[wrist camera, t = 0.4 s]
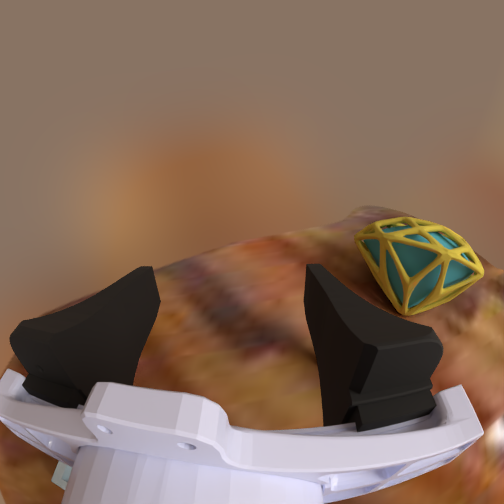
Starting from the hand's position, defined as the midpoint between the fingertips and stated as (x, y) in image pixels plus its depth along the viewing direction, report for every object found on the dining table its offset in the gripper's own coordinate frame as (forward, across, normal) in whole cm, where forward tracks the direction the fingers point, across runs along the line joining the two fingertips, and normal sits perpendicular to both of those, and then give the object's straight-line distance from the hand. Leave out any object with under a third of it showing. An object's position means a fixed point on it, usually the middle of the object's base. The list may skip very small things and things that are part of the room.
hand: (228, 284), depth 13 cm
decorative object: (+25, -27, +20) cm, 42 cm away
